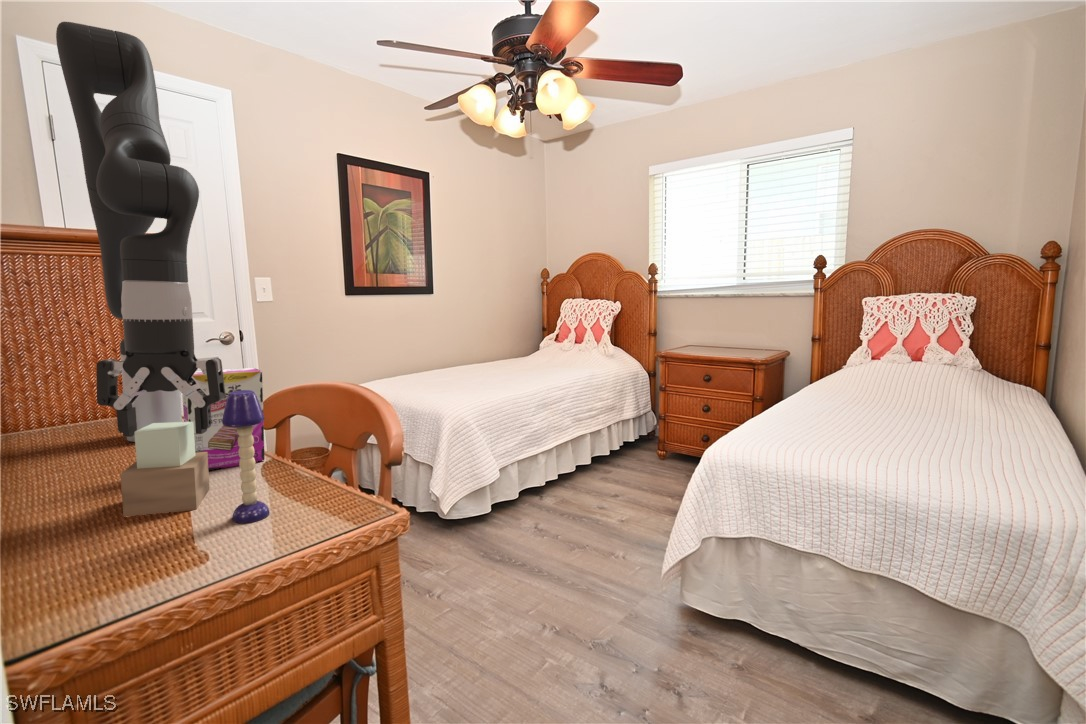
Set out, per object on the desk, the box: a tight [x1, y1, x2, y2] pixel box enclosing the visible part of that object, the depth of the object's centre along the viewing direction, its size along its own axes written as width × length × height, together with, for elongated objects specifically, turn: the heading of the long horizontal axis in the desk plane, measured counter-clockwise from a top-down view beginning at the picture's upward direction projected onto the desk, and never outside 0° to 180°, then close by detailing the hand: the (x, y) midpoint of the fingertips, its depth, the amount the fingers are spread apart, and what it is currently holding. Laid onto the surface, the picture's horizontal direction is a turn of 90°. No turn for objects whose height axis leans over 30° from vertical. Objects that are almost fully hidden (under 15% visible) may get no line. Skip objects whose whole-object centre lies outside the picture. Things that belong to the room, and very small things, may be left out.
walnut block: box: [119, 452, 210, 518], centre depth 71 cm, size 8×8×6 cm
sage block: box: [134, 421, 195, 469], centre depth 71 cm, size 5×5×5 cm
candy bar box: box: [182, 367, 265, 471], centre depth 87 cm, size 11×5×16 cm, turn 135°
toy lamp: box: [222, 390, 270, 524], centre depth 66 cm, size 5×5×17 cm
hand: (166, 434), depth 71 cm, fingers open, 8 cm apart
